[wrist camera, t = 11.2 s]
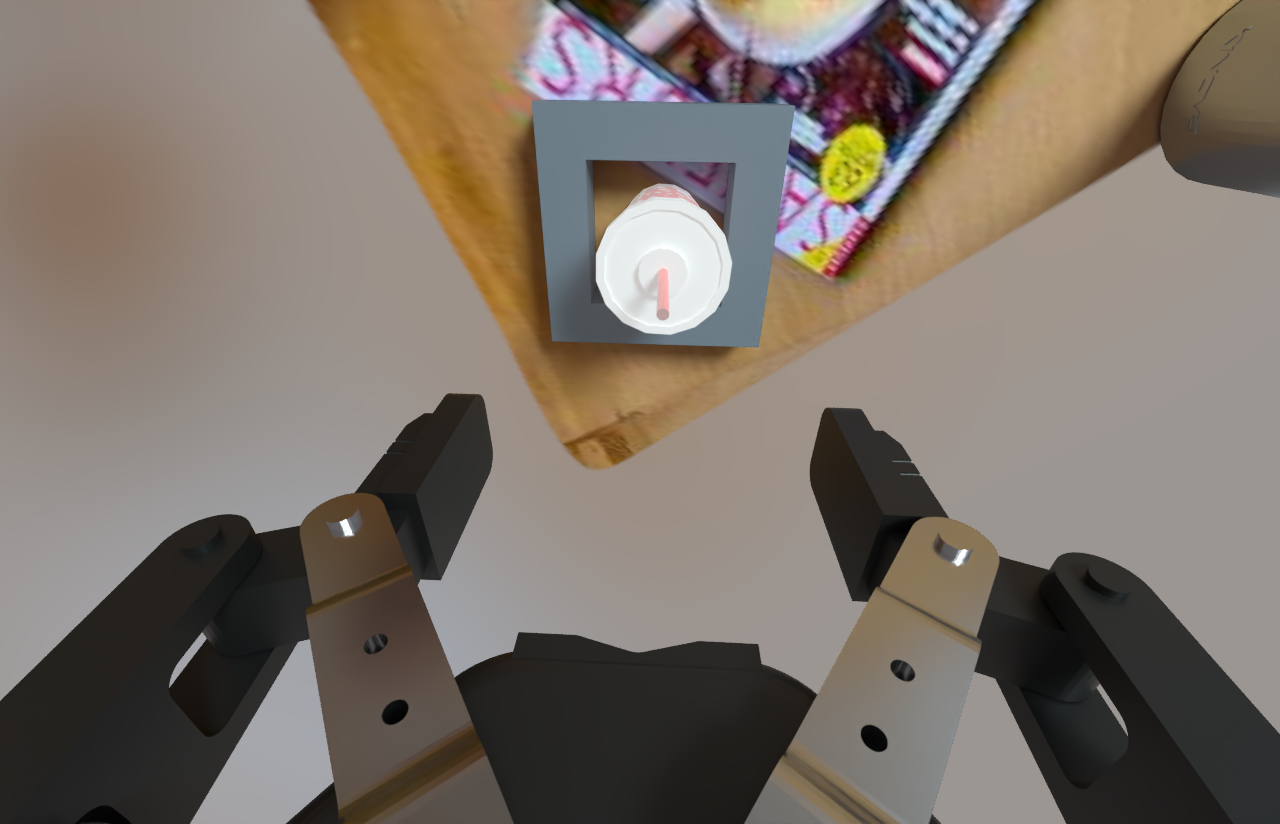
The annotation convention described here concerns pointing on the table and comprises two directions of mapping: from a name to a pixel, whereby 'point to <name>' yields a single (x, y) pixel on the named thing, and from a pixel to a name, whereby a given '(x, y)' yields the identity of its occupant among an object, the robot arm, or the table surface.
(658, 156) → the hole plate
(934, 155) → the table surface
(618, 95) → the table surface
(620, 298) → the beverage cup
